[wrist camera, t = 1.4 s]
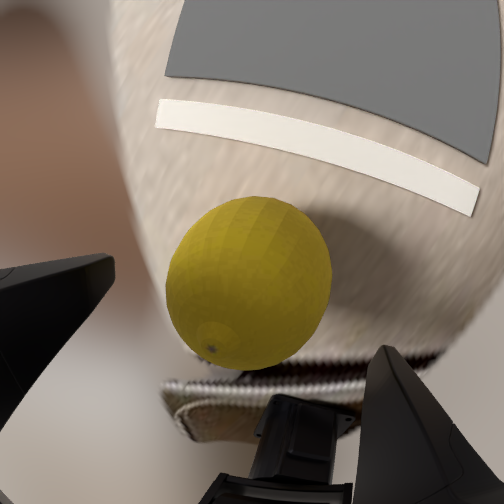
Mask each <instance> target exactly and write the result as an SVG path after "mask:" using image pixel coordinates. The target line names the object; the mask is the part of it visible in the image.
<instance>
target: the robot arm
mask: <svg viewBox="0 0 504 504" xmlns="http://www.w3.org/2000/svg"><path fill="white" fill-rule="evenodd" d="M114 281H115V260H114V257H113V256H111V255H108V254H106V253H98V254H92V255H85V256H79V257H72V258H66V259H60V260H54V261H48V262H42V263H35V264H29V265H23V266H18V267H12V268H6V269H0V431H1V430H2V428H3V427H4V425H5V424H6V422H7V421H8V419H9V418H10V416H11V415H12V413H13V412H14V411H15V409H16V408H17V406H18V405H19V403H20V402H21V401H22V399H23V398H24V396H25V395H26V393H27V392H28V390H29V389H30V388H31V387H32V385H33V384H34V383H35V381H36V380H37V379H38V377H39V376H40V375H41V373H42V372H43V371H44V370H45V368H46V367H47V365H49V363H50V362H51V361H52V360H53V358H54V357H55V356H56V355H57V353H58V352H59V351H60V350H61V348H62V347H63V346H64V345H65V343H66V342H67V341H68V340H69V339H70V338H71V336H72V335H73V334H74V333H75V332H76V331H77V329H78V328H79V327H80V326H81V325H82V324H83V322H84V321H85V320H86V319H87V318H88V317H89V316H90V314H91V313H92V312H93V311H94V309H95V307H96V306H97V305H98V304H99V302H100V301H101V299H102V298H103V297H104V296H105V294H106V293H107V291H108V290H109V289H110V287H111V286H112V285H113V283H114ZM354 421H355V413H353V412H349V411H344V410H339V409H334V408H330V407H325V406H321V405H316V404H312V403H308V402H304V401H300V400H296V399H292V398H288V397H285V396H281V395H273V396H272V397H271V398H270V400H269V402H268V404H267V407H266V409H265V411H264V413H263V415H262V417H261V419H260V421H259V423H258V425H257V427H256V429H255V431H254V436H255V437H257V438H261V439H260V442H259V445H258V448H257V452H256V455H255V459H254V461H253V464H252V467H251V470H250V473H249V476H248V478H242V477H236V476H230V475H229V474H226V473H220V474H219V475H218V477H217V478H216V480H215V481H214V482H213V483H212V485H211V486H210V488H209V489H208V490H207V492H206V493H205V495H204V496H203V498H202V500H201V501H200V502H199V503H198V504H351V502H352V489H353V483H345V484H333V485H332V478H333V470H334V462H335V453H336V443H337V439H338V438H339V437H340V436H341V435H342V434H343V433H344V431H345V430H346V429H347V428H348V427H349V426H350V425H351V424H352V423H353V422H354ZM0 504H13V503H12V502H11V501H10V500H9V499H8V498H7V496H6V495H5V494H4V493H3V492H2V491H1V490H0ZM352 504H504V483H503V482H502V481H501V480H499V479H498V478H497V476H496V475H495V474H494V473H493V472H492V470H491V469H490V468H489V467H488V466H487V464H486V463H485V462H484V461H483V460H482V458H481V457H480V456H479V455H478V454H477V452H476V451H475V450H474V449H473V447H472V446H471V445H470V444H469V443H468V441H467V440H466V439H465V437H464V436H463V435H462V433H461V432H460V431H459V429H458V428H457V426H456V425H455V424H453V421H452V420H451V418H450V417H449V416H448V414H447V413H446V412H445V411H444V409H443V408H442V406H441V405H440V404H439V403H438V401H437V400H436V399H435V397H434V396H433V395H432V393H431V392H430V391H429V390H428V388H427V387H426V386H425V385H424V383H423V382H422V381H421V379H420V378H419V377H418V376H417V374H416V373H415V372H414V371H413V369H412V368H411V367H410V366H409V364H408V363H407V362H406V361H405V360H404V358H403V357H402V356H401V355H400V353H399V352H398V351H397V350H396V349H395V348H394V347H392V346H388V345H381V346H380V348H379V349H378V351H377V352H376V354H375V355H374V357H373V359H372V360H371V362H370V364H369V366H368V370H367V378H366V385H365V393H364V399H363V406H362V416H361V433H360V446H359V457H358V467H357V475H356V483H355V490H354V497H353V503H352Z"/></svg>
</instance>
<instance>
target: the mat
mask: <svg viewBox="0 0 504 504" xmlns="http://www.w3.org/2000/svg"><path fill="white" fill-rule="evenodd" d="M500 57H501V49H500V24H499V13H498V4H497V0H185V2H184V5H183V8H182V11H181V14H180V18H179V21H178V24H177V28H176V31H175V35H174V39H173V42H172V46H171V50H170V54H169V58H168V62H167V67H166V71H165V75H164V76H167V77H183V78H201V79H213V80H224V81H233V82H241V83H248V84H255V85H261V86H267V87H273V88H278V89H284V90H289V91H293V92H298V93H303V94H307V95H311V96H315V97H319V98H323V99H327V100H331V101H334V102H338V103H341V104H345V105H348V106H352V107H355V108H358V109H361V110H364V111H367V112H370V113H373V114H376V115H379V116H382V117H385V118H387V119H390V120H393V121H395V122H398V123H400V124H403V125H405V126H408V127H410V128H413V129H415V130H417V131H420V132H422V133H424V134H427V135H429V136H431V137H433V138H435V139H437V140H440V141H442V142H444V143H446V144H448V145H450V146H452V147H454V148H456V149H458V150H460V151H461V152H463V153H465V154H467V155H469V156H471V157H472V158H474V159H476V160H478V161H480V162H481V163H484V164H487V160H488V156H489V151H490V146H491V141H492V136H493V131H494V125H495V119H496V112H497V104H498V94H499V82H500Z"/></svg>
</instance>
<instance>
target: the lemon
mask: <svg viewBox="0 0 504 504" xmlns="http://www.w3.org/2000/svg"><path fill="white" fill-rule="evenodd" d="M331 282H332V267H331V261H330V256H329V251H328V248H327V245H326V243H325V241H324V239H323V237H322V235H321V233H320V231H319V229H318V228H317V227H316V226H315V225H314V223H313V222H312V221H311V220H310V219H309V218H308V216H307V215H305V214H304V213H303V212H301V211H300V210H298V209H297V208H295V207H294V206H292V205H291V204H288V203H285V202H283V201H280V200H277V199H275V198H268V197H258V196H252V197H246V198H240V199H234V200H231V201H229V202H226V203H224V204H222V205H220V206H218V207H216V208H214V209H212V210H210V211H209V212H208V213H207V214H205V215H204V216H203V217H202V218H201V219H200V220H199V221H198V222H196V223H195V224H194V225H193V226H192V227H191V228H190V229H189V230H188V232H187V233H186V235H185V236H184V238H183V240H182V241H181V243H180V245H179V246H178V248H177V250H176V251H175V253H174V255H173V257H172V260H171V262H170V266H169V271H168V275H167V280H166V301H167V308H168V311H169V314H170V317H171V320H172V323H173V325H174V327H175V329H176V330H177V332H178V334H179V335H180V337H181V338H182V339H183V341H184V342H185V343H186V344H187V345H188V346H189V347H190V348H191V350H193V351H194V352H195V353H197V354H198V355H199V356H200V357H202V358H203V359H205V360H207V361H209V362H211V363H213V364H215V365H218V366H221V367H224V368H229V369H236V370H258V369H262V368H266V367H269V366H273V365H276V364H278V363H280V362H282V361H283V360H285V359H287V358H289V357H290V356H292V355H294V354H295V353H296V352H297V351H298V350H299V349H300V348H301V347H302V346H303V345H304V344H305V343H306V342H307V341H308V340H309V339H310V338H311V336H312V335H313V334H314V332H315V331H316V329H317V327H318V325H319V323H320V321H321V319H322V316H323V314H324V312H325V310H326V307H327V305H328V302H329V297H330V290H331Z"/></svg>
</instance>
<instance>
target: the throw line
mask: <svg viewBox="0 0 504 504" xmlns="http://www.w3.org/2000/svg"><path fill="white" fill-rule="evenodd" d="M155 127H156V128H165V129H173V130H180V131H187V132H194V133H200V134H206V135H212V136H218V137H223V138H229V139H234V140H239V141H244V142H249V143H254V144H258V145H263V146H267V147H271V148H276V149H280V150H284V151H288V152H292V153H296V154H300V155H303V156H307V157H311V158H314V159H318V160H321V161H325V162H328V163H332V164H335V165H338V166H341V167H345V168H348V169H351V170H354V171H357V172H360V173H363V174H366V175H369V176H372V177H375V178H378V179H381V180H383V181H386V182H389V183H392V184H394V185H397V186H400V187H402V188H405V189H407V190H410V191H412V192H415V193H417V194H420V195H422V196H425V197H427V198H429V199H432V200H434V201H436V202H439V203H441V204H443V205H446V206H448V207H450V208H452V209H454V210H456V211H459V212H461V213H463V214H465V215H467V216H469V217H471V214H472V211H473V208H474V205H475V202H476V199H477V196H478V193H479V190H480V188H478V187H477V186H475V185H473V184H471V183H469V182H467V181H465V180H463V179H461V178H459V177H457V176H455V175H453V174H451V173H449V172H447V171H445V170H443V169H441V168H439V167H436V166H434V165H432V164H430V163H428V162H425V161H423V160H421V159H418V158H416V157H414V156H411V155H409V154H406V153H404V152H401V151H399V150H396V149H393V148H391V147H388V146H385V145H383V144H380V143H377V142H374V141H371V140H368V139H365V138H362V137H359V136H356V135H353V134H350V133H347V132H343V131H340V130H337V129H333V128H330V127H326V126H322V125H319V124H315V123H311V122H307V121H303V120H299V119H295V118H291V117H286V116H282V115H277V114H272V113H267V112H262V111H256V110H251V109H245V108H239V107H233V106H226V105H219V104H211V103H202V102H193V101H182V100H169V99H160V100H159V105H158V111H157V117H156V123H155Z"/></svg>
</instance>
